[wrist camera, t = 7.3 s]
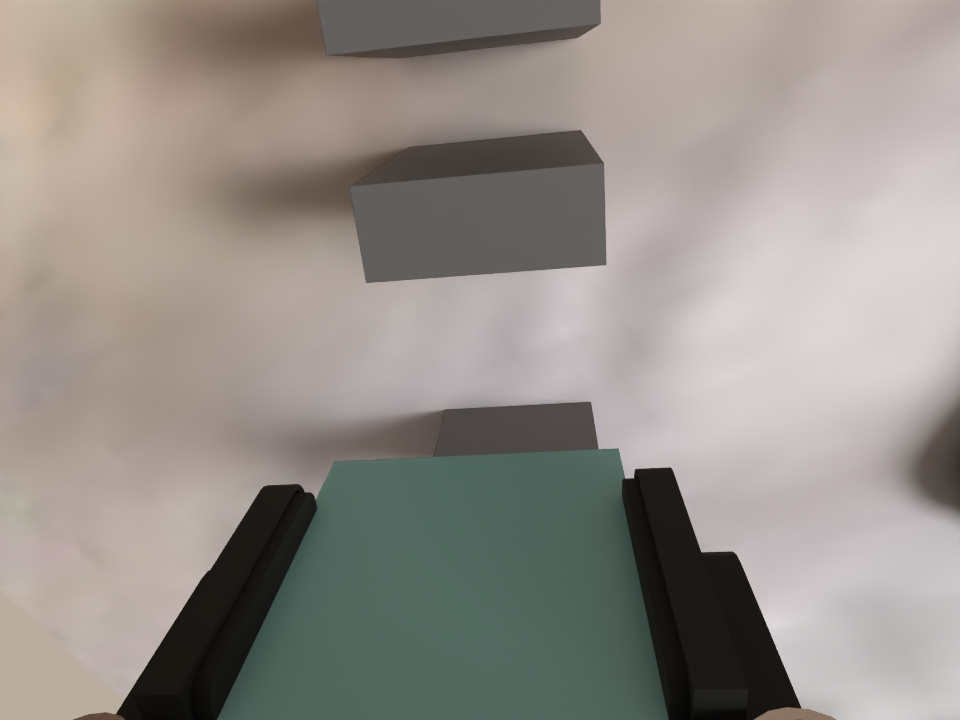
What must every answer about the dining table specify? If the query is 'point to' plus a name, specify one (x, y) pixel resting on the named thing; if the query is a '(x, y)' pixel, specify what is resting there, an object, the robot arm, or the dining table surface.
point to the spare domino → (459, 597)
